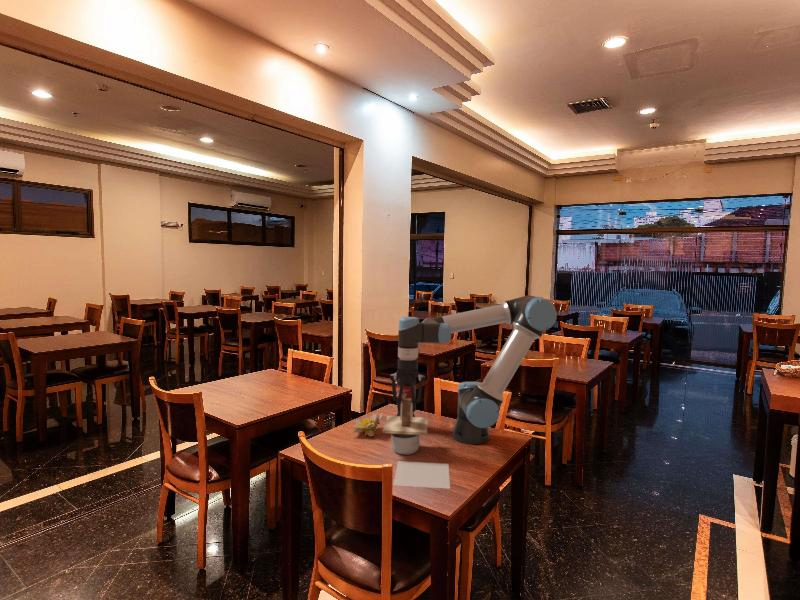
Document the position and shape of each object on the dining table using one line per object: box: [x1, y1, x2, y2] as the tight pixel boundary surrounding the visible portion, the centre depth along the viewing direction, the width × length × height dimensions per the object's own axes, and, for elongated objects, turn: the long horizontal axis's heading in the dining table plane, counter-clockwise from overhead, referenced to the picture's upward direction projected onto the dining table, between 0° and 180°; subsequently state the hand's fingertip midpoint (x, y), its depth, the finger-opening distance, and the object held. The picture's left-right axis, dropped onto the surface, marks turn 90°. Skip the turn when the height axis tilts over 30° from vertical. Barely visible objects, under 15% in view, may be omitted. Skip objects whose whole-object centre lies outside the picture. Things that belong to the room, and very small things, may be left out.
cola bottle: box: [396, 377, 417, 417], centre depth 199 cm, size 8×8×30 cm
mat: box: [393, 460, 451, 490], centre depth 155 cm, size 18×18×1 cm
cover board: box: [382, 398, 429, 436], centre depth 174 cm, size 16×16×10 cm
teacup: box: [390, 433, 420, 456], centre depth 175 cm, size 14×11×8 cm
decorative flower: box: [352, 412, 383, 437], centre depth 193 cm, size 15×11×10 cm
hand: (406, 419), depth 174 cm, fingers closed on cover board, 3 cm apart
